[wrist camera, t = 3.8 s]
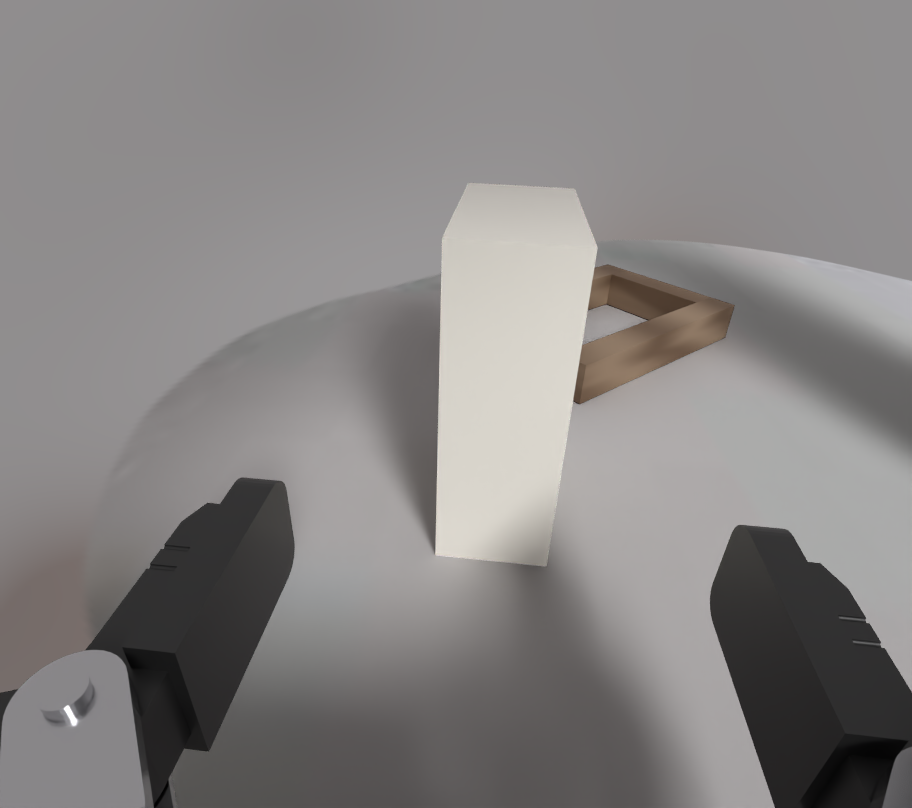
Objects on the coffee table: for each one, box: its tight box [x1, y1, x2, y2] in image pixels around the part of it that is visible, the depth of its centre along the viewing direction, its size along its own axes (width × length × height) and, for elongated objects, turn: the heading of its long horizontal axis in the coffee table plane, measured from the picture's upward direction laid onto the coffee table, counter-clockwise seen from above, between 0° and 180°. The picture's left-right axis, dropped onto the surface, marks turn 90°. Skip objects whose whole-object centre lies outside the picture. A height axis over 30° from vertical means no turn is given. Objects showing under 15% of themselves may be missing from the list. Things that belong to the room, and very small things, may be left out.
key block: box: [435, 183, 598, 567], centre depth 19 cm, size 4×7×10 cm, turn 174°
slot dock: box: [573, 265, 735, 404], centre depth 33 cm, size 13×9×2 cm
